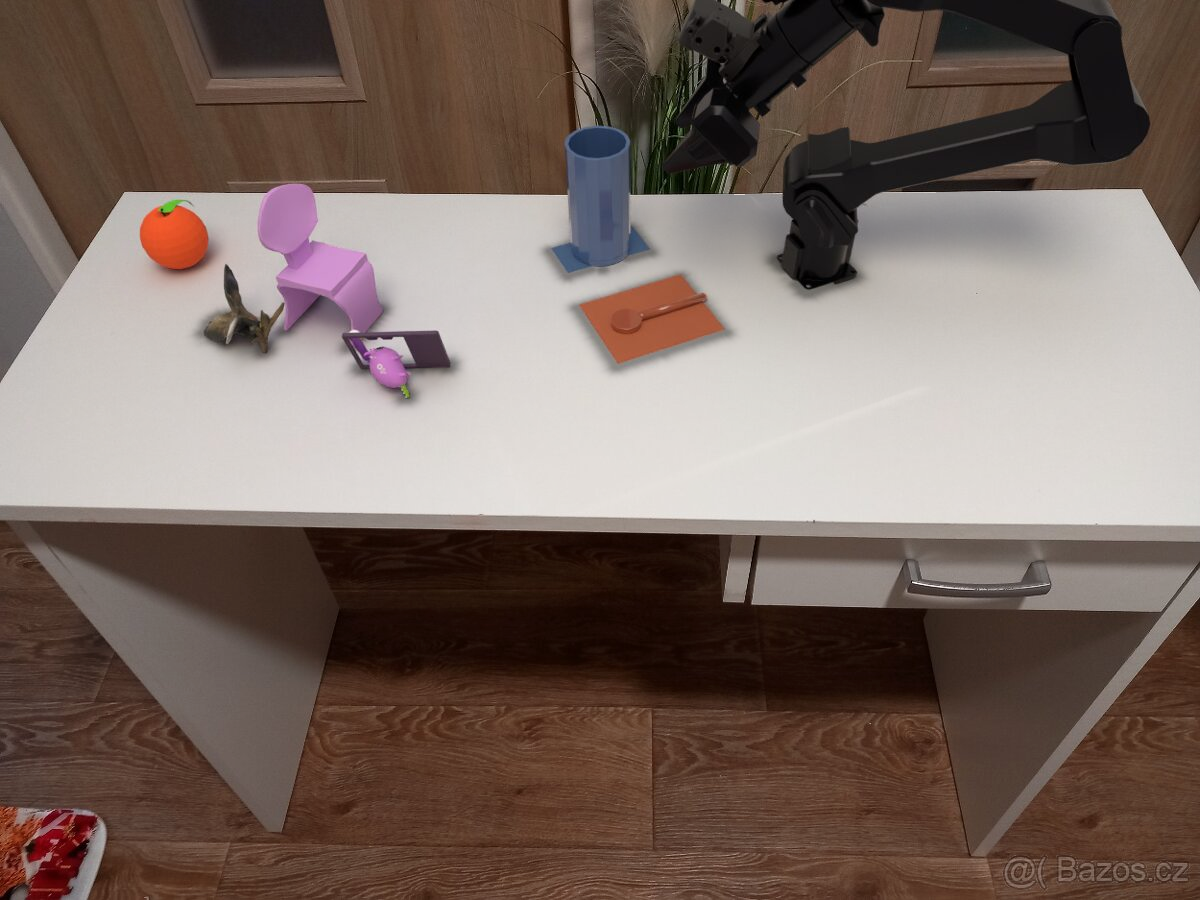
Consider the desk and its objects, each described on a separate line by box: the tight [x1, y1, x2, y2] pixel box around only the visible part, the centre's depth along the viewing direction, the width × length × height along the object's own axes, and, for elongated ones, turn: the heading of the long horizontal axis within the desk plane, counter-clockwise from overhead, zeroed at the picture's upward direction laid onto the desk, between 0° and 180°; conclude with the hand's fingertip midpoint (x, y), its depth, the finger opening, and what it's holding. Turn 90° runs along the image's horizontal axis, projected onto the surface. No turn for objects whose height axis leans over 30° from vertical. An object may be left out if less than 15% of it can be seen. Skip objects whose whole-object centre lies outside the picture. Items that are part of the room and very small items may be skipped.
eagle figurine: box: [203, 263, 286, 354], centre depth 92 cm, size 8×7×9 cm
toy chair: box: [257, 183, 384, 347], centre depth 89 cm, size 8×9×15 cm
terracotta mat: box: [578, 274, 726, 365], centre depth 93 cm, size 12×10×1 cm
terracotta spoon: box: [611, 292, 708, 334], centre depth 93 cm, size 11×3×1 cm, turn 114°
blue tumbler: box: [563, 125, 632, 267], centre depth 96 cm, size 7×7×13 cm
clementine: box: [139, 199, 210, 270], centre depth 100 cm, size 8×7×7 cm
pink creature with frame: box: [341, 329, 451, 399], centre depth 86 cm, size 7×5×9 cm
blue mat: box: [551, 225, 651, 274], centre depth 101 cm, size 10×5×1 cm, turn 114°
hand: (671, 146), depth 90 cm, fingers open, 9 cm apart
